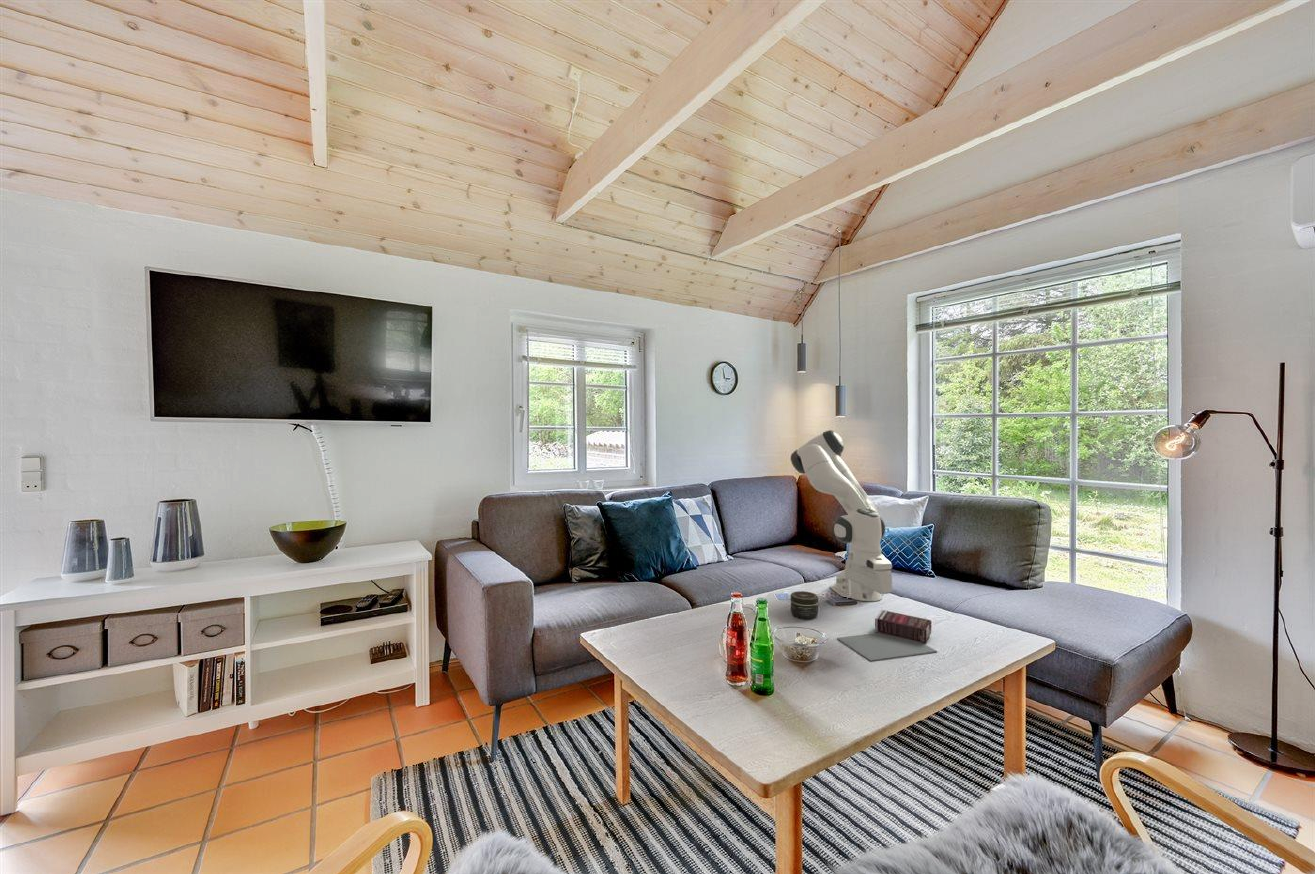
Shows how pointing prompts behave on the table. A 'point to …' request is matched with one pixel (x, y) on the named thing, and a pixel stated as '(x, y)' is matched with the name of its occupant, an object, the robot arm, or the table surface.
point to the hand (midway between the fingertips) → (866, 598)
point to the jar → (804, 605)
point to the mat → (885, 646)
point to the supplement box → (903, 626)
